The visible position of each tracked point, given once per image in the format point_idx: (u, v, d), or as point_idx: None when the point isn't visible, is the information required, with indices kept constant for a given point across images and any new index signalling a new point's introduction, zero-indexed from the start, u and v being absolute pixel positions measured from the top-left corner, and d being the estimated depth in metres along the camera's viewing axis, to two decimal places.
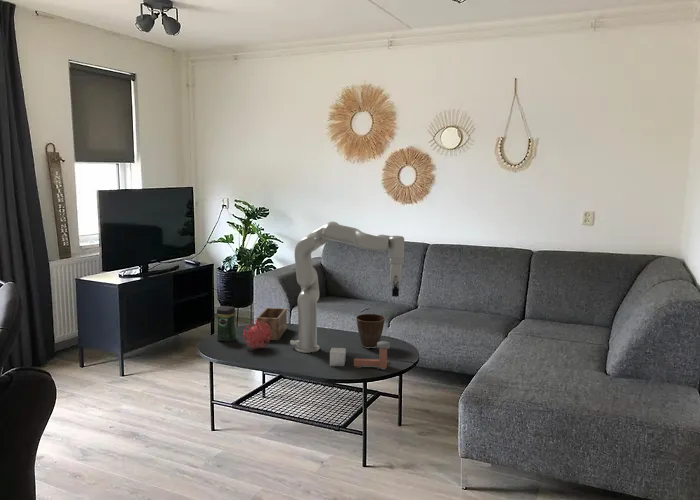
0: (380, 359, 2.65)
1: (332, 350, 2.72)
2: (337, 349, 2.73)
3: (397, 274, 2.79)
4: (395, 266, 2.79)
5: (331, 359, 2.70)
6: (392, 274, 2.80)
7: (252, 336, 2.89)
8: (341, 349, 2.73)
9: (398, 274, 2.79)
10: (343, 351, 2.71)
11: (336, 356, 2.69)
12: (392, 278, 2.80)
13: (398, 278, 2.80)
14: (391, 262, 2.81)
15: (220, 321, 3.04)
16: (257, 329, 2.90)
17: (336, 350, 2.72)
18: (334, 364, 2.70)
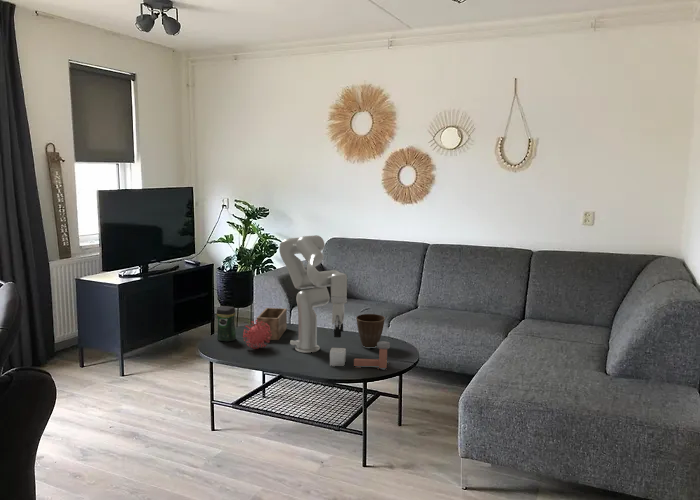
0: (380, 359, 2.65)
1: (332, 350, 2.72)
2: (337, 349, 2.73)
3: (339, 314, 2.64)
4: (337, 305, 2.64)
5: (331, 359, 2.70)
6: (333, 314, 2.65)
7: (252, 336, 2.89)
8: (341, 349, 2.73)
9: (340, 314, 2.64)
10: (343, 351, 2.71)
11: (336, 356, 2.69)
12: (334, 318, 2.65)
13: (340, 318, 2.65)
14: (333, 301, 2.66)
15: (220, 321, 3.04)
16: (257, 329, 2.90)
17: (336, 350, 2.72)
18: (334, 364, 2.70)
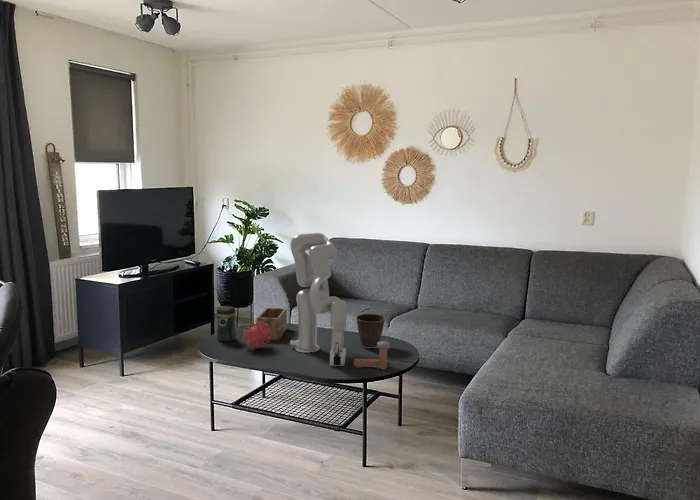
0: (380, 359, 2.65)
1: None
2: None
3: (338, 341, 2.66)
4: (336, 332, 2.66)
5: (331, 359, 2.70)
6: (333, 341, 2.67)
7: (252, 336, 2.89)
8: None
9: (339, 341, 2.66)
10: (343, 351, 2.71)
11: None
12: (333, 345, 2.67)
13: (339, 345, 2.67)
14: (332, 328, 2.68)
15: (220, 321, 3.04)
16: (257, 329, 2.90)
17: None
18: None
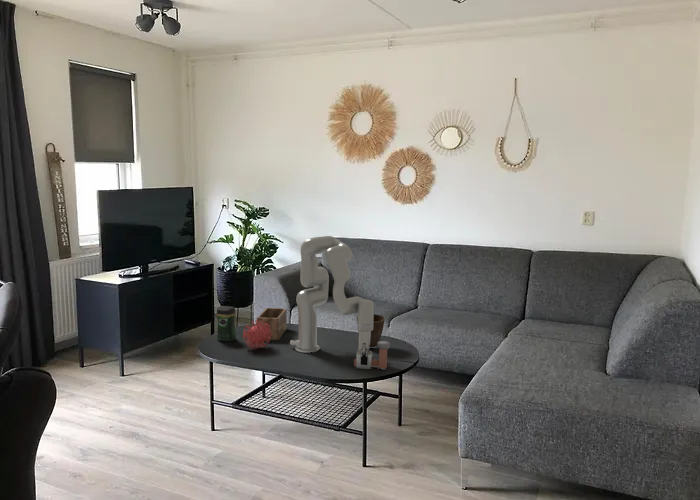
0: (380, 359, 2.65)
1: (359, 353, 2.69)
2: None
3: (366, 341, 2.63)
4: (363, 332, 2.63)
5: (358, 362, 2.67)
6: (360, 341, 2.63)
7: (252, 336, 2.89)
8: (367, 352, 2.70)
9: (367, 341, 2.63)
10: (370, 353, 2.68)
11: None
12: (360, 345, 2.64)
13: (367, 345, 2.63)
14: (359, 328, 2.65)
15: (220, 321, 3.04)
16: (257, 329, 2.90)
17: None
18: None
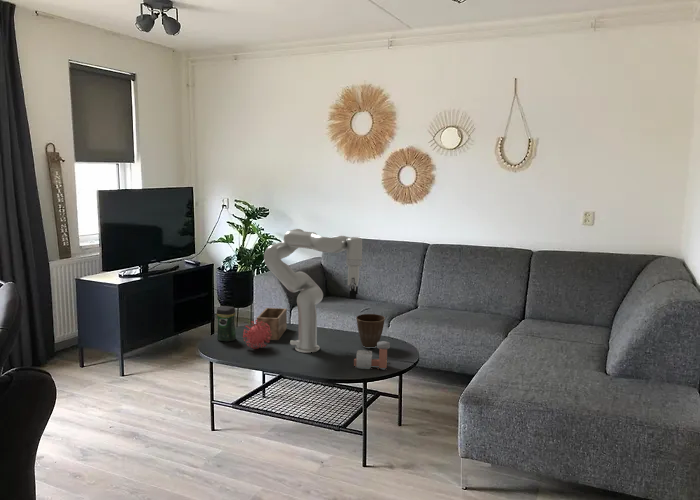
0: (380, 359, 2.65)
1: (359, 353, 2.69)
2: (363, 351, 2.70)
3: (354, 276, 2.76)
4: (352, 267, 2.75)
5: (358, 362, 2.67)
6: (349, 276, 2.76)
7: (252, 336, 2.89)
8: (367, 352, 2.70)
9: (355, 276, 2.76)
10: (370, 353, 2.68)
11: (363, 359, 2.66)
12: (349, 280, 2.76)
13: (355, 280, 2.76)
14: (348, 264, 2.77)
15: (220, 321, 3.04)
16: (257, 329, 2.90)
17: (363, 352, 2.69)
18: None
